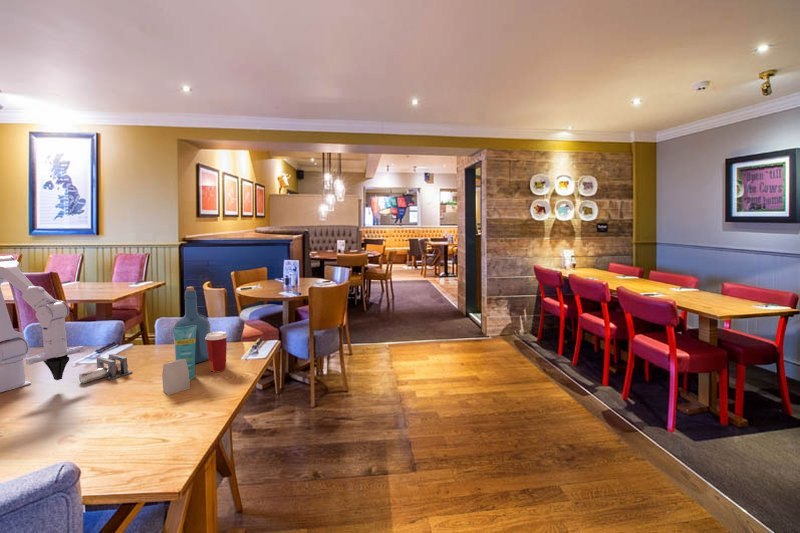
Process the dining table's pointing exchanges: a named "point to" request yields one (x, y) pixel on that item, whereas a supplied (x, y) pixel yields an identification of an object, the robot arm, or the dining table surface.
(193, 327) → the tube
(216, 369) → the paper cup
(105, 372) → the silver cylinder
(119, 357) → the collar
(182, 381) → the tea bag
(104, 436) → the dining table surface
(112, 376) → the grey holder stand
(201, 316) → the wine bottle
